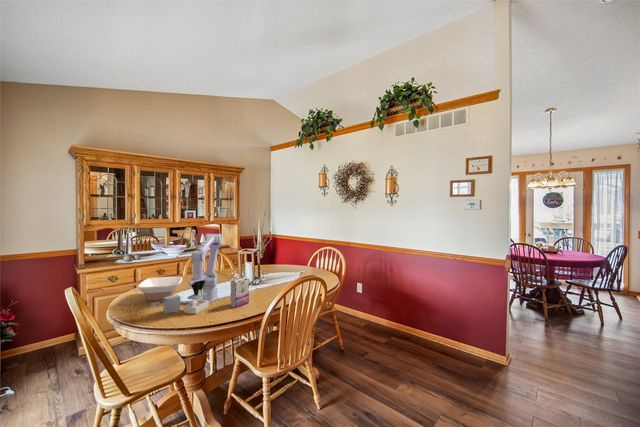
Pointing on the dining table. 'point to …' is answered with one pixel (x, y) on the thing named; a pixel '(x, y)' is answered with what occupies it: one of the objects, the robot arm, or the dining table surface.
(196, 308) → the box
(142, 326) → the dining table surface
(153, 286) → the bowl
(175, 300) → the medicine box
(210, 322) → the dining table surface
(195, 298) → the lid
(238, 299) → the candy bar box
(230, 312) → the dining table surface
